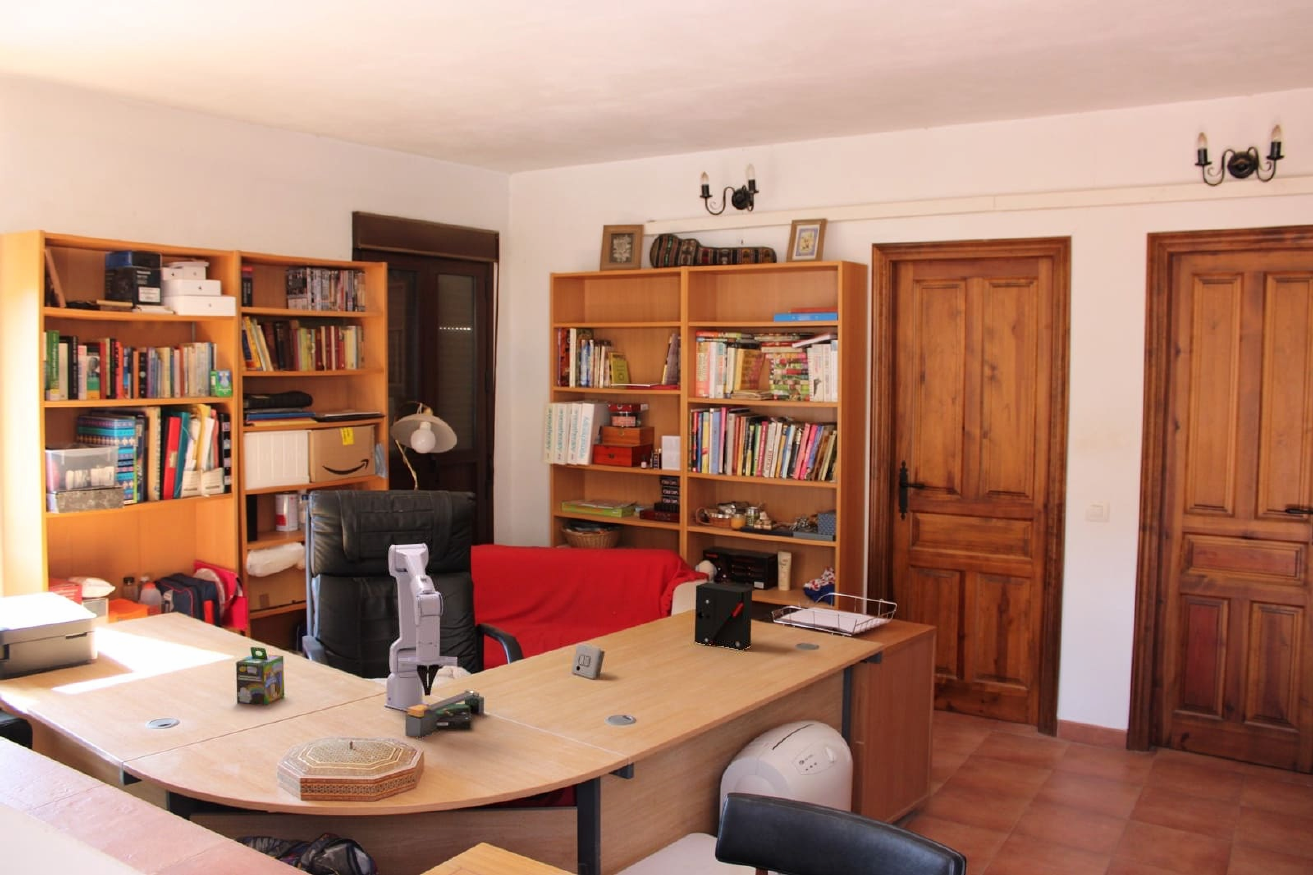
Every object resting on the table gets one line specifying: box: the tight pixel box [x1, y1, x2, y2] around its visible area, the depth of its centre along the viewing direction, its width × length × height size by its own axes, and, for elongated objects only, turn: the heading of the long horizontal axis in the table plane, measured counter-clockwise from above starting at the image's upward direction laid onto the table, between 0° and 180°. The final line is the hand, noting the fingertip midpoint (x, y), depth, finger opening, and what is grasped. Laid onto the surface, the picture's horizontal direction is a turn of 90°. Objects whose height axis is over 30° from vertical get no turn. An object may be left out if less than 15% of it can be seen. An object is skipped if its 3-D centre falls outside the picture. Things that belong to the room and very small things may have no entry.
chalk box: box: [235, 646, 285, 707], centre depth 293 cm, size 9×9×15 cm
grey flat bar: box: [424, 689, 480, 713], centre depth 278 cm, size 4×18×1 cm, turn 149°
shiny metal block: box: [404, 695, 485, 739], centre depth 277 cm, size 5×24×5 cm, turn 149°
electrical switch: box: [571, 642, 606, 680], centre depth 324 cm, size 9×5×9 cm, turn 49°
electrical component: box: [694, 582, 753, 651], centre depth 363 cm, size 18×10×20 cm, turn 58°
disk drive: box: [435, 703, 472, 731], centre depth 279 cm, size 10×3×15 cm
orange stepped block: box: [407, 704, 429, 717], centre depth 268 cm, size 4×4×2 cm
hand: (427, 694), depth 271 cm, fingers closed
